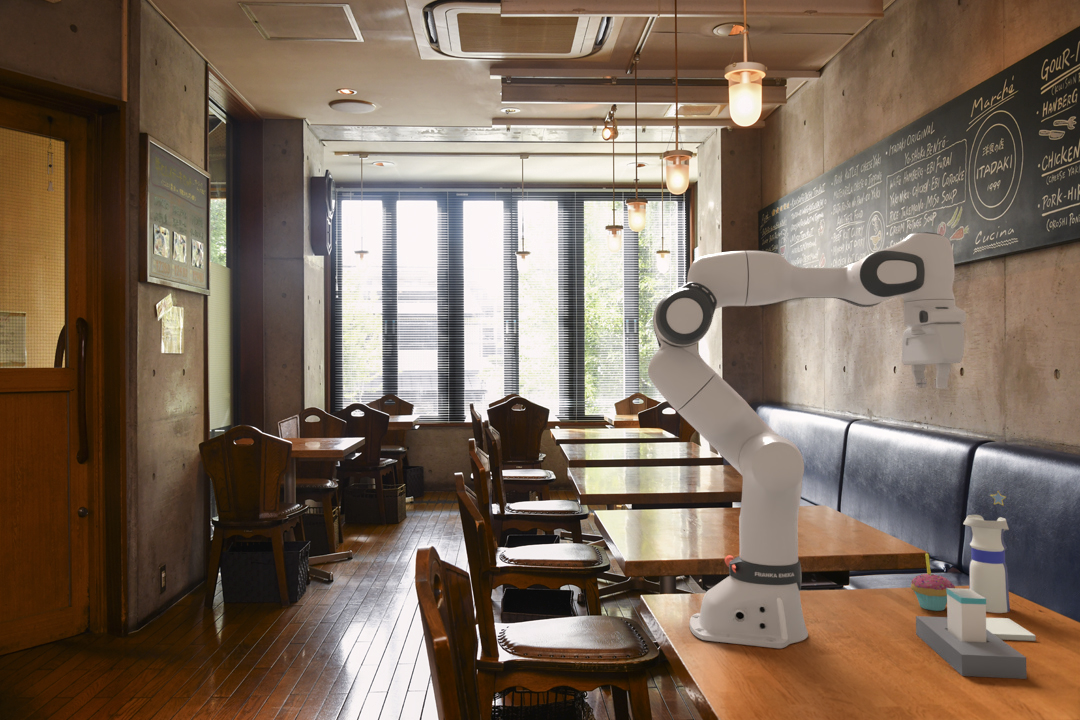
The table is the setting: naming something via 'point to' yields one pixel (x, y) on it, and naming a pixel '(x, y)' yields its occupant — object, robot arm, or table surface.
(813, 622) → the table surface
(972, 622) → the plug
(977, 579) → the water bottle
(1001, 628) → the mat
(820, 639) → the table surface
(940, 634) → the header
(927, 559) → the cupcake
